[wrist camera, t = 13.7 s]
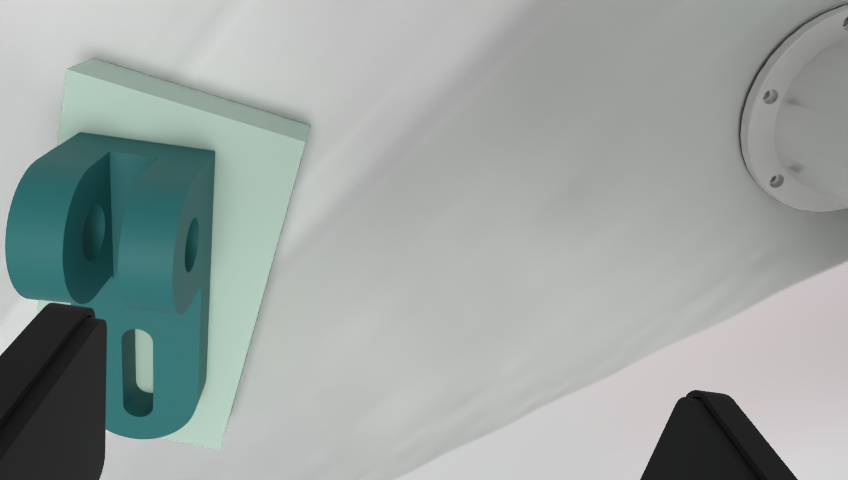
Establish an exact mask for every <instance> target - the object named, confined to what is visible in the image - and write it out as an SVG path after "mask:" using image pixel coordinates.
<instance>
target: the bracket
mask: <svg viewBox="0 0 848 480" xmlns="http://www.w3.org/2000/svg"><path fill="white" fill-rule="evenodd" d="M214 172H215V151H212V150H205V149H198V148H191V147H184V146H177V145H169V144H162V143H155V142H148V141H141V140H134V139H126V138H119V137H112V136H105V135H98V134H91V133H83V132H79V133H77V134H76V135H74V136H73V137H71V138H70V139H68V140H67V141H65V142H63V143H62V144H60V145H59V146H57V147H56V148H54V149H53V150H51V151H50V152H48V153H46V154H45V155H43V156H42V157H40V158H39V159H37V160H36V161H35V162H34V163H33V164H32V165H31V166H30V167H29V168H28V169H27V170H26V172H25V174H24V175H23V177H22V179H21V180H20V182H19V184H18V187H17V189H16V191H15V194H14V197H13V200H12V203H11V207H10V211H9V215H8V221H7V228H6V239H5V251H6V263H7V269H8V273H9V277H10V279H11V282H12V284H13V286H14V288H15V289H16V291H17V292H18V293H19V294H20V295H21V296H23V297H25V298H27V299H36V300H45V301H55V302H65V303H71V305H75V306H82V307H90V308H92V309H93V310H94V312H95V318H97V319H104V320H105V321H106V323H107V364H106V422H105V429H106V430H108V431H110V432H112V433H115V434H118V435H121V436H124V437H128V438H135V439H154V438H160V437H164V436H167V435H170V434H172V433H174V432H176V431H178V430H179V429H181V428H182V427H183V426H185V425H186V424H187V423H188V422H189V420H190V419H191V418H192V416H193V414H194V412H195V410H196V407H197V405H198V402H199V399H200V397H201V394H202V391H203V389H204V386H205V383H206V376H207V351H208V326H209V300H210V275H211V249H212V224H213V198H214ZM135 329H139V330H142V331H145V332H146V333H148V334H149V335H150V336H151V338H152V340H153V393H149V392H145V391H143V390H141V389H140V388H139V387H138V385H137V383H136V350H135Z"/></svg>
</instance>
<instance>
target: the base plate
mask: <svg viewBox="0 0 848 480" xmlns="http://www.w3.org/2000/svg"><path fill="white" fill-rule="evenodd" d="M310 127H311V126H310V125H307V124H304V123H300V122H297V121H294V120H291V119H287V118H284V117H281V116H278V115H275V114H271V113H268V112H265V111H262V110H259V109H255V108H252V107H249V106H246V105H242V104H239V103H236V102H233V101H230V100H226V99H223V98H220V97H217V96H214V95H210V94H207V93H204V92H201V91H197V90H194V89H191V88H188V87H185V86H181V85H178V84H175V83H172V82H168V81H165V80H162V79H159V78H156V77H152V76H149V75H146V74H143V73H140V72H136V71H133V70H130V69H127V68H123V67H120V66H117V65H114V64H111V63H107V62H104V61H101V60H98V59H95V58H93V59H90V60H88V61H85V62H83V63H80V64H78V65H76V66H73V67H71V68H68V69H66V77H65V86H64V94H63V102H62V111H61V119H60V127H59V136H58V144H57V146H59V145H60V144H62V143H63V142H65V141H67V140H68V139H70V138H71V137H73V136H74V135H76V134H77V133H79V132H83V133H91V134H98V135H105V136H112V137H119V138H126V139H134V140H141V141H148V142H155V143H162V144H169V145H177V146H184V147H191V148H198V149H205V150H212V151H215V172H214V198H213V224H212V249H211V275H210V300H209V326H208V351H207V376H206V383H205V386H204V389H203V391H202V394H201V397H200V399H199V402H198V405H197V407H196V410H195V412H194V414H193V416H192V418H191V419H190V420H189V422H188V423H187V424H186V425H185V426H183V427H182V428H181V429H179V430H178V431H176V432H174V433H172V434H170V435H167V436H164V437H160V438H162V439H167V440H172V441H177V442H183V443H188V444H193V445H198V446H203V447H208V448H213V449H218V450H220V447H221V444H222V441H223V437H224V434H225V430H226V427H227V424H228V420H229V417H230V413H231V410H232V406H233V403H234V399H235V395H236V392H237V388H238V385H239V381H240V378H241V374H242V370H243V367H244V363H245V360H246V356H247V352H248V349H249V345H250V342H251V338H252V335H253V331H254V327H255V324H256V320H257V317H258V313H259V309H260V306H261V302H262V299H263V295H264V292H265V288H266V284H267V281H268V277H269V274H270V270H271V266H272V263H273V259H274V256H275V252H276V249H277V245H278V241H279V238H280V234H281V231H282V227H283V223H284V220H285V216H286V213H287V209H288V205H289V202H290V198H291V195H292V191H293V188H294V184H295V180H296V177H297V173H298V170H299V166H300V162H301V159H302V155H303V152H304V148H305V145H306V141H307V137H308V134H309V130H310ZM49 303H60V304H68V305H71V303H65V302H55V301H45V300H39V302H38V311H37V315H38V314H39V312H40V311H41V310H42V309H43V308H44V307H45V306H46V305H47V304H49ZM135 350H136V383H137V385H138V387H139V388H140V389H141V390H143V391H145V392H149V393H153V340H152V338H151V336H150V335H149V334H148V333H146V332H145V331H142V330H139V329H135Z"/></svg>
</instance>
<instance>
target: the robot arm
mask: <svg viewBox="0 0 848 480" xmlns="http://www.w3.org/2000/svg"><path fill="white" fill-rule="evenodd" d="M764 94H765V95H764ZM740 136H741V146H742V154H743V157H744V160H745V163H746V166H747V169H748V171H749V172H750V174H751V175H752V177H753V179H754V180H755V182H756V183H757V184H758V185H759V186H760V187H761V188H762V189H763V190H764V191H765V192H766V193H767V194H769V195H771V196H772V197H774V198H775V199H777V200H778V201H780V202H781V203H784V204H786V205H788V206H791V207H793V208H795V209H800V210H805V211H810V212H831V211H836V210H842V209H848V5H844V6H842V7H839V8H837V9H834V10H831V11H829V12H826V13H824V14H822V15H820V16H819V17H817V18H815V19H813V20H812V21H810V22H808V23H807V24H805V25H803V26H802V27H801V28H800V29H799V30H797V31H796V32H795V33H794V34H792V35H791V36H790V37H789V38H787V39H786V40H785V41H784V42H783V43H782V45H781V46H780V47H779V48H778V49H777V50H776V51H775V52H774V53H773V54H772V56H771V57H770V58H769V59H768V61H767V62H766V64H765V65H764V67H763V68H762V70H761V71H760V73H759V74H758V76H757V78H756V80H755V82H754V84H753V86H752V88H751V91H750V93H749V95H748V98H747V101H746V105H745V108H744V112H743V115H742V124H741V134H740ZM106 364H107V323H106V321H105V320H104V319H97V318H95V312H94V310H93V309H92V308H90V307H82V306H75V305H68V304H60V303H49V304H47V305H46V306H45V307H44V308H43V309H42V310H41V311H40V312H39V314H38V315H37V316H36V317H35V318H34V319H33V320H32V321H31V322H30V324H29V325H28V326H27V327H26V328H25V329H24V330H23V331H22V332H21V334H20V335H19V336H18V337H17V338H16V339H15V340H14V341H13V342H12V344H11V345H10V346H9V347H8V348H7V349H6V350H5V351H4V352H3V354H2V355H1V356H0V480H99V478H100V476H101V473H102V469H103V465H104V460H105V422H106ZM640 480H797V478H796V477H795V476H794V475H793V473H792V472H791V471H790V470H789V468H788V467H787V466H786V465H785V463H784V462H783V461H782V460H781V458H780V457H779V456H778V455H777V453H776V452H775V451H774V450H773V448H772V447H771V446H770V445H769V443H768V442H767V441H766V440H765V439H764V437H763V436H762V435H761V434H760V432H759V431H758V430H757V429H756V427H755V426H754V425H753V424H752V422H751V421H750V420H749V419H748V418H747V416H746V415H745V414H744V412H743V411H742V410H741V409H740V407H739V406H738V405H737V404H736V402H735V401H734V400H733V399H732V398H731V397H730V396H728V395H726V394H721V393H714V392H706V391H699V390H694V391H691V392H690V393H688V394H687V396H686V397H683V398H681V399H679V400H678V402H677V403H676V405H675V407H674V409H673V411H672V413H671V416H670V418H669V420H668V422H667V424H666V426H665V429H664V430H663V433H662V435H661V437H660V439H659V441H658V443H657V446H656V448H655V450H654V452H653V454H652V456H651V458H650V460H649V462H648V465H647V467H646V469H645V471H644V473H643V475H642V478H641V479H640Z"/></svg>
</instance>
